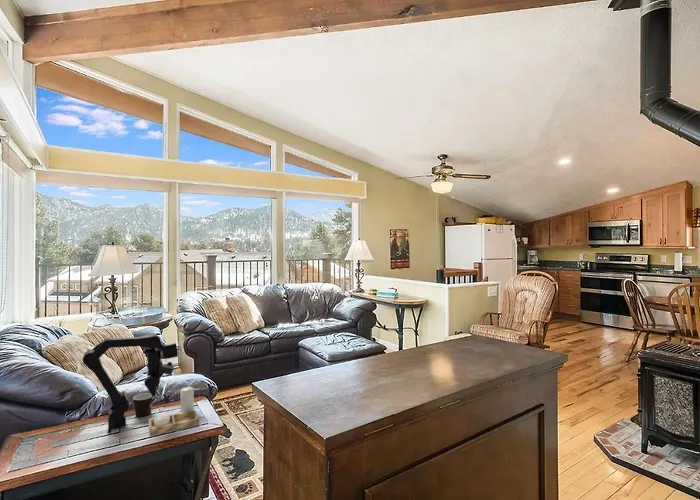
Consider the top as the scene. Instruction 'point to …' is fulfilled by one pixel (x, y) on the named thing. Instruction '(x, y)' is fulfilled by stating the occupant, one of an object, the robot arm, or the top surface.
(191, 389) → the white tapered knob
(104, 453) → the top surface
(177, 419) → the open wooden box
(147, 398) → the coffee mug
